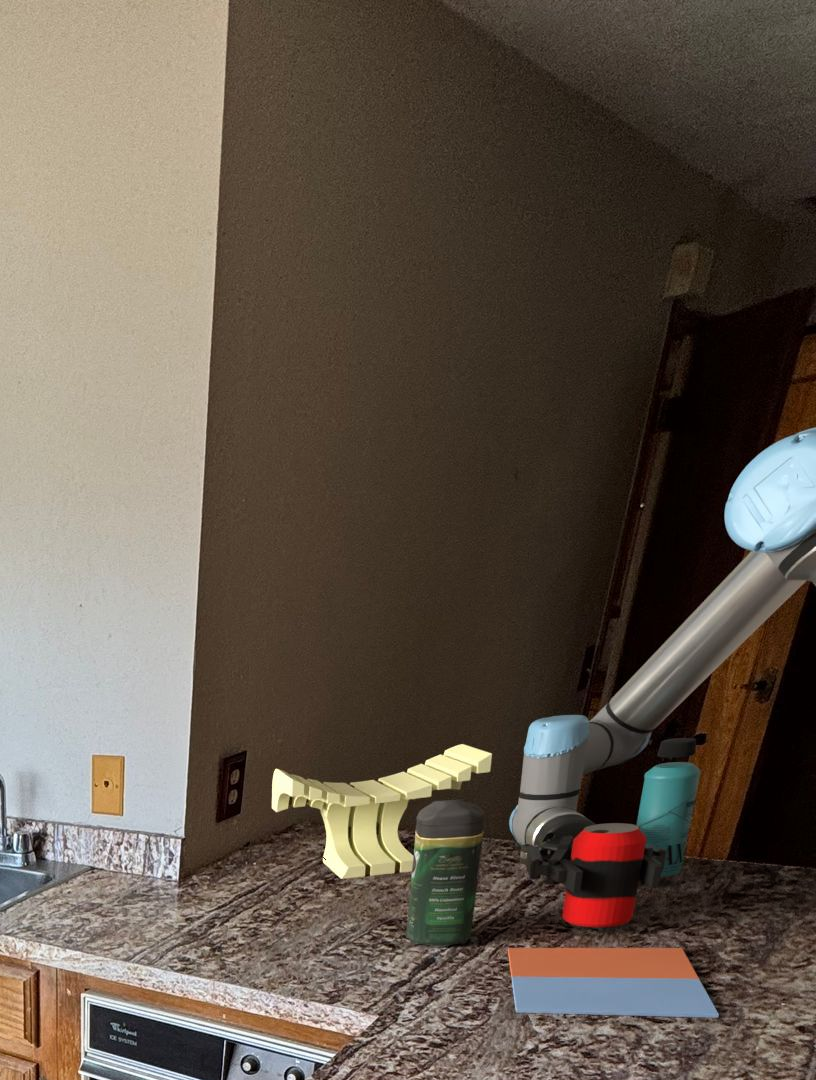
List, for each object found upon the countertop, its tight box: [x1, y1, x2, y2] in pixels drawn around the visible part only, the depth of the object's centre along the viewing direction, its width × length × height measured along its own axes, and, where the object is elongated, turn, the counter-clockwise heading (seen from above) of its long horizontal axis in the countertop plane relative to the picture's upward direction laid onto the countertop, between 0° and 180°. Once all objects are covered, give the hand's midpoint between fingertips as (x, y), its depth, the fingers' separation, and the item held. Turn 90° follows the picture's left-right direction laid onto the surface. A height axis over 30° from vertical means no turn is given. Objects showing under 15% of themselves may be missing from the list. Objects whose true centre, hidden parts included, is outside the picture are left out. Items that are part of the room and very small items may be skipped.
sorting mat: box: [507, 947, 720, 1019], centre depth 117 cm, size 18×22×1 cm
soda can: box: [561, 822, 646, 928], centre depth 129 cm, size 8×8×12 cm
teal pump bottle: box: [636, 737, 702, 878], centre depth 141 cm, size 6×7×20 cm
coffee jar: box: [406, 799, 485, 948], centre depth 135 cm, size 10×8×19 cm
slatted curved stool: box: [271, 743, 493, 880], centre depth 172 cm, size 30×16×18 cm, turn 81°
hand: (617, 879), depth 124 cm, fingers closed on soda can, 7 cm apart
